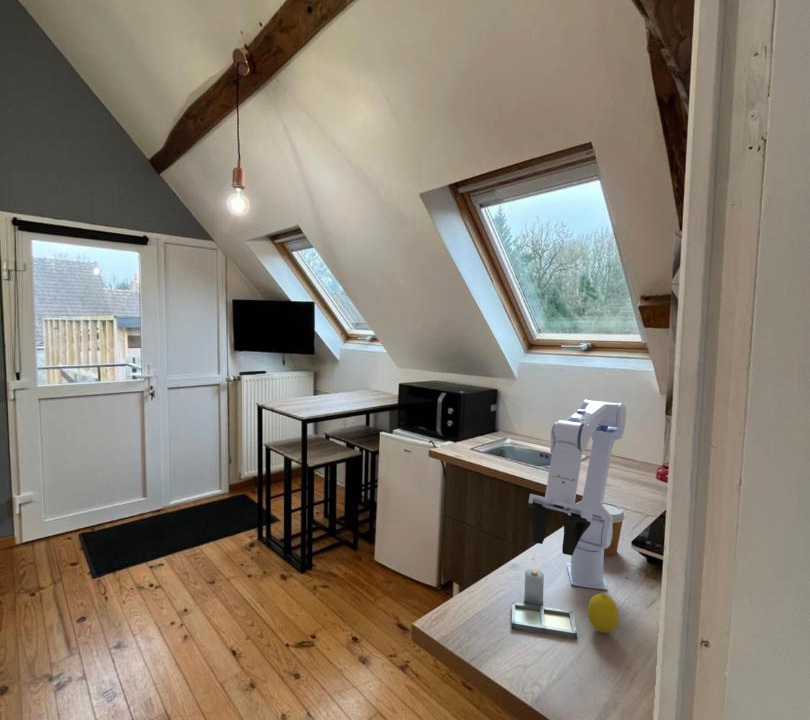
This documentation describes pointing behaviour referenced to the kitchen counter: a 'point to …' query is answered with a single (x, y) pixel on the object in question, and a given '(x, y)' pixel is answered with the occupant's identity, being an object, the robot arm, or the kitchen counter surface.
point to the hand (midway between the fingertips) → (551, 548)
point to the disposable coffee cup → (614, 526)
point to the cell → (534, 587)
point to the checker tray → (543, 620)
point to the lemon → (603, 613)
